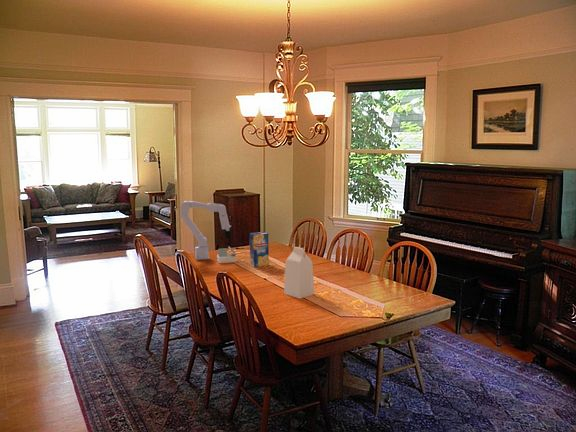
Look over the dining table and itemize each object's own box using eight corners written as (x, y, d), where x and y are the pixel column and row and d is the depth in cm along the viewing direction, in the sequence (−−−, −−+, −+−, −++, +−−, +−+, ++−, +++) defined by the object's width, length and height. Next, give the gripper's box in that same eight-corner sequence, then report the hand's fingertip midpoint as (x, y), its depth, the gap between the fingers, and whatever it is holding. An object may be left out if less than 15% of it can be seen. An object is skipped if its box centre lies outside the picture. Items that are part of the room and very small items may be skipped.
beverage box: (268, 265, 326) (268, 233, 323) (254, 267, 321) (253, 235, 318) (264, 262, 332) (263, 231, 329) (250, 264, 327) (249, 233, 324)
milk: (284, 293, 264) (283, 247, 260) (298, 289, 272) (298, 244, 268) (299, 298, 256) (299, 251, 252) (314, 293, 264) (314, 247, 260)
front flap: (218, 249, 335) (218, 248, 334) (226, 248, 336) (226, 248, 335) (219, 256, 332) (219, 256, 331) (227, 256, 333) (227, 255, 333)
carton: (219, 263, 332) (218, 257, 332) (217, 260, 341) (216, 254, 340) (236, 261, 336) (236, 256, 335) (233, 259, 344) (233, 253, 344)
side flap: (230, 249, 333) (231, 248, 334) (228, 247, 341) (229, 246, 341) (235, 255, 335) (236, 254, 335) (233, 252, 343) (234, 251, 343)
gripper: (231, 220, 339) (235, 239, 342) (228, 218, 353) (232, 236, 355) (222, 223, 337) (226, 241, 340) (218, 220, 351) (222, 238, 354)
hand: (228, 239), depth 347 cm, fingers open, 7 cm apart
